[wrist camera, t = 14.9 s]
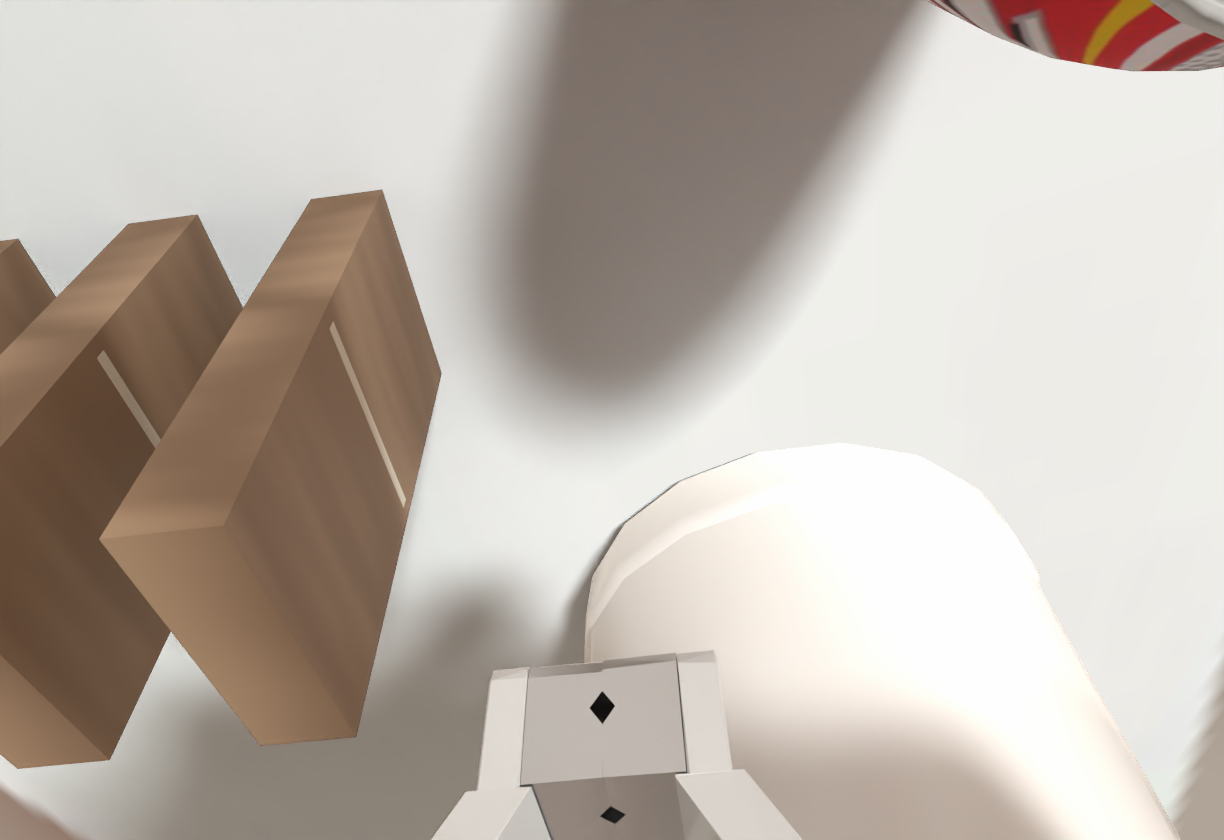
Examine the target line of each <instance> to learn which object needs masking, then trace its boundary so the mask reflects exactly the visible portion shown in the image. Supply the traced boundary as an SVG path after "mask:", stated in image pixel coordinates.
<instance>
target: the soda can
mask: <svg viewBox="0 0 1224 840" xmlns="http://www.w3.org/2000/svg"><path fill="white" fill-rule="evenodd" d="M927 1H928V2H930V3H931V4H933V5H935V6H937V7H939V8H941V9H943V10H945V11H947V12H949V13H951V14H953V15H955V16H957V17H959V18H961V19H963V20H965V21H967V22H968V23H970V24H972V25H974V26H976V27H978V28H980V29H982V30H984V31H986V32H988V33H990V34H992V35H994V36H996V37H998V38H1001V39H1004V40H1006V41H1009V42H1011V43H1014V44H1017V45H1019V46H1022V47H1024V48H1027V49H1029V50H1032V51H1035V52H1037V53H1040V54H1042V55H1045V56H1047V57H1050V58H1055V59H1060V60H1066V61H1072V62H1078V63H1083V64H1089V65H1095V66H1101V67H1106V68H1112V69H1120V70H1127V71H1199V70H1206V69H1212V68H1218V67H1224V0H927Z"/></svg>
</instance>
